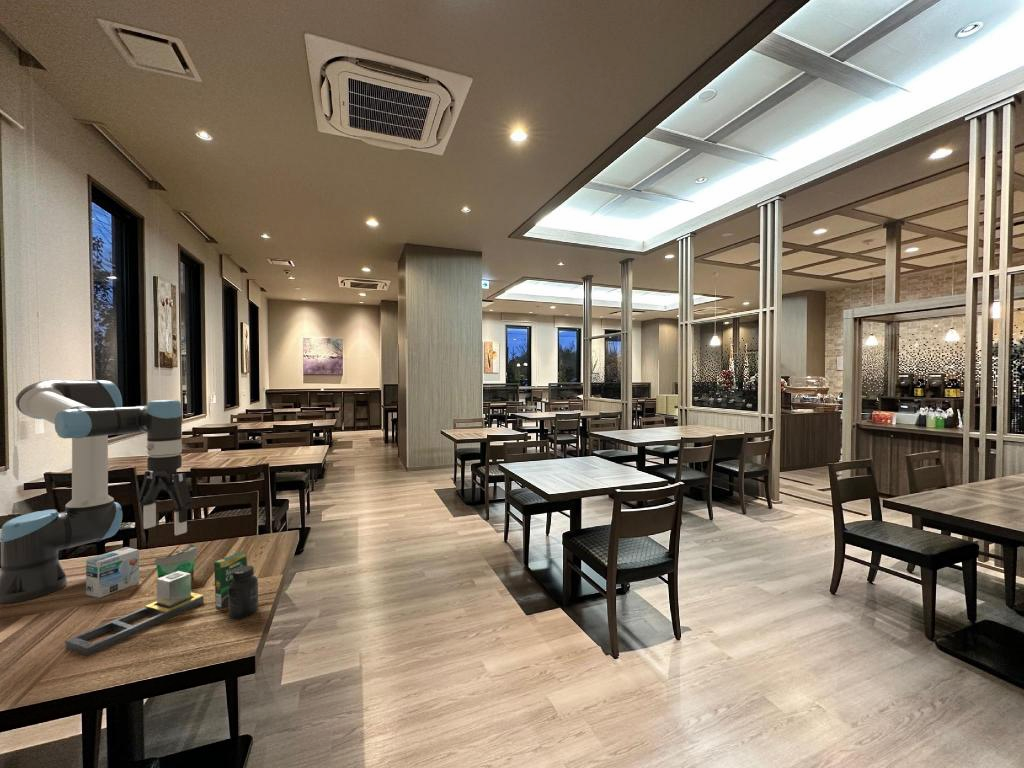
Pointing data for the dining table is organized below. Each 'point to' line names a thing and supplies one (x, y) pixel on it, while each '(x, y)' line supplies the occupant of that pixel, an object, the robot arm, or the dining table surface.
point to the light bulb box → (112, 572)
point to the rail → (128, 626)
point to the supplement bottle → (243, 593)
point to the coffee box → (226, 576)
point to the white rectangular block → (173, 589)
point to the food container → (177, 562)
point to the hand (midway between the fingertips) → (164, 530)
